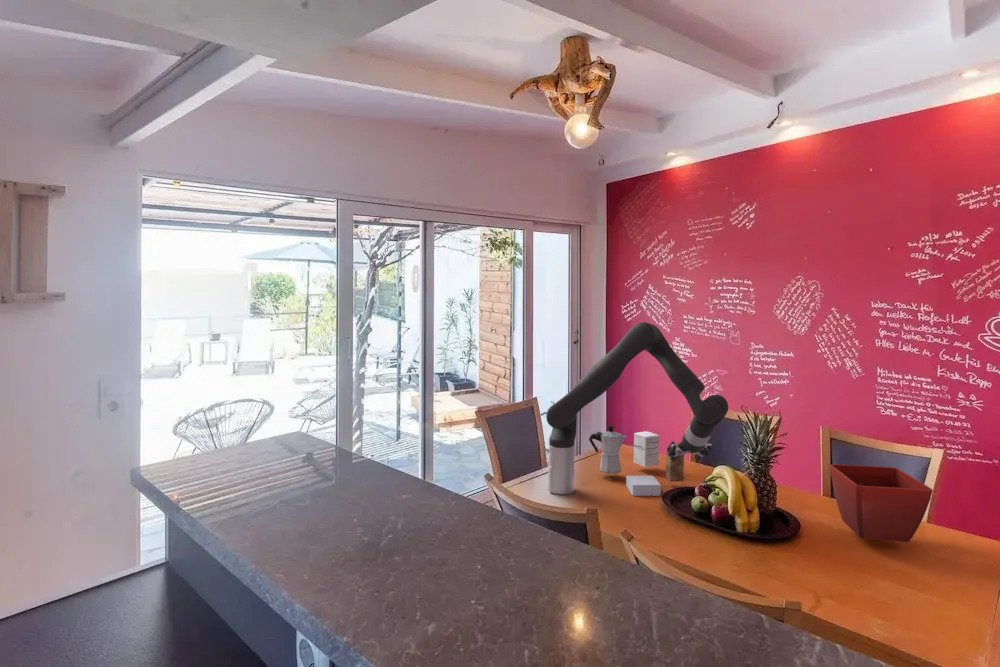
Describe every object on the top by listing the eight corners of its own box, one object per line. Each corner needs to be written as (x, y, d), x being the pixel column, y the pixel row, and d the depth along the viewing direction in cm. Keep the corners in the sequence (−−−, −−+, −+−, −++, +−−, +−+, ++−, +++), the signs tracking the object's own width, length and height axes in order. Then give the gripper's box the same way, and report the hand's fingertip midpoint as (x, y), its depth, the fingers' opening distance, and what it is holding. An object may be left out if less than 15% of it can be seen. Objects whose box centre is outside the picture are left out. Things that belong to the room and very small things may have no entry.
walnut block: (670, 481, 203) (670, 452, 203) (665, 476, 208) (666, 448, 208) (683, 481, 203) (684, 452, 203) (678, 476, 208) (679, 448, 208)
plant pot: (931, 549, 149) (934, 489, 148) (854, 544, 153) (857, 485, 151) (894, 520, 168) (896, 467, 167) (826, 516, 172) (828, 463, 170)
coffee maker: (625, 467, 220) (625, 423, 219) (628, 474, 211) (628, 428, 210) (587, 466, 222) (588, 422, 220) (589, 473, 213) (589, 427, 212)
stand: (632, 495, 197) (632, 485, 197) (626, 486, 207) (626, 475, 207) (660, 495, 197) (660, 484, 197) (652, 485, 207) (652, 475, 207)
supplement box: (632, 462, 226) (633, 432, 225) (647, 460, 229) (647, 430, 228) (644, 467, 219) (645, 436, 218) (659, 465, 222) (659, 434, 221)
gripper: (715, 426, 185) (701, 449, 198) (673, 426, 185) (662, 449, 198) (720, 445, 180) (706, 468, 193) (677, 446, 180) (666, 468, 193)
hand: (684, 459), depth 195 cm, fingers open, 8 cm apart
